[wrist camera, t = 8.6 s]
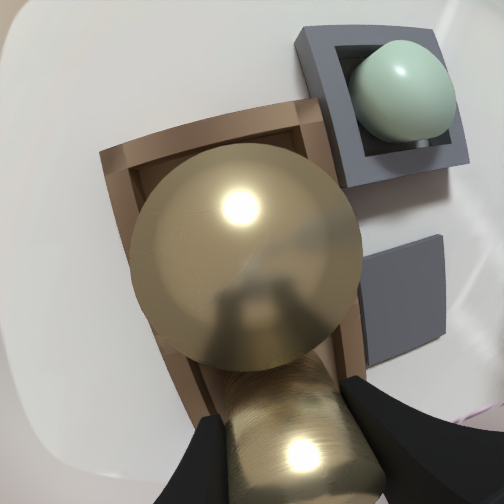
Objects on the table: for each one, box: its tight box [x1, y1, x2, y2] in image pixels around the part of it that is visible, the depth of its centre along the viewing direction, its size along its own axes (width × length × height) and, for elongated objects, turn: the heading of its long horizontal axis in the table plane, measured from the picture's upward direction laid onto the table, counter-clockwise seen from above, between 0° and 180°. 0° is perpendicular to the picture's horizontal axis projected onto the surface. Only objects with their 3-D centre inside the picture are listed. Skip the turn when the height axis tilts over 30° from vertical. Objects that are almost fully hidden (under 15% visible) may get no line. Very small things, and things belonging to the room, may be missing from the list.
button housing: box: [294, 25, 470, 188], centre depth 11 cm, size 6×6×2 cm
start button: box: [349, 40, 456, 143], centre depth 10 cm, size 4×4×2 cm
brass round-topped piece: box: [130, 143, 363, 372], centre depth 8 cm, size 4×4×6 cm
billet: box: [224, 350, 386, 504], centre depth 9 cm, size 4×4×6 cm
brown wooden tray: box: [99, 97, 366, 430], centre depth 11 cm, size 8×14×2 cm, turn 14°
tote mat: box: [358, 234, 446, 366], centre depth 13 cm, size 4×5×1 cm
